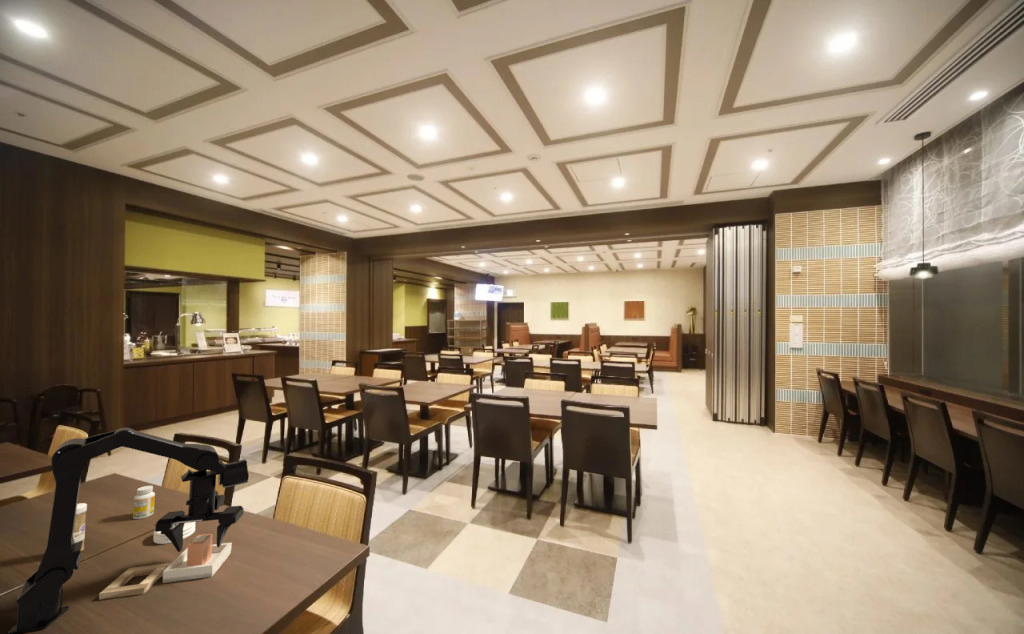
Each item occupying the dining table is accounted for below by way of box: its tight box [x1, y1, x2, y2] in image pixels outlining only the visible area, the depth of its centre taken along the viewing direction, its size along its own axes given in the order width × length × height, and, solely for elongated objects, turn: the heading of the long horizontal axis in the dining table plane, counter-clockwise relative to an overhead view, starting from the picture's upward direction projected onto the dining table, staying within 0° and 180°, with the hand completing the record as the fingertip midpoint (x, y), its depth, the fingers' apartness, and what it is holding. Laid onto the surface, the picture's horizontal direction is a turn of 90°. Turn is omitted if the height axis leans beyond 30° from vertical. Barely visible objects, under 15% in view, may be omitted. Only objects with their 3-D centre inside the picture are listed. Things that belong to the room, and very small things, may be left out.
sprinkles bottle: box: [73, 502, 88, 553], centre depth 109 cm, size 5×5×14 cm
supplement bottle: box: [132, 485, 156, 520], centre depth 131 cm, size 5×5×10 cm
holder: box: [98, 562, 170, 601], centre depth 97 cm, size 10×9×2 cm
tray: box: [162, 542, 233, 584], centre depth 104 cm, size 11×11×3 cm
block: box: [187, 533, 213, 567], centre depth 104 cm, size 5×4×7 cm
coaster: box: [152, 522, 197, 545], centre depth 119 cm, size 10×10×4 cm
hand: (199, 548), depth 104 cm, fingers open, 9 cm apart
